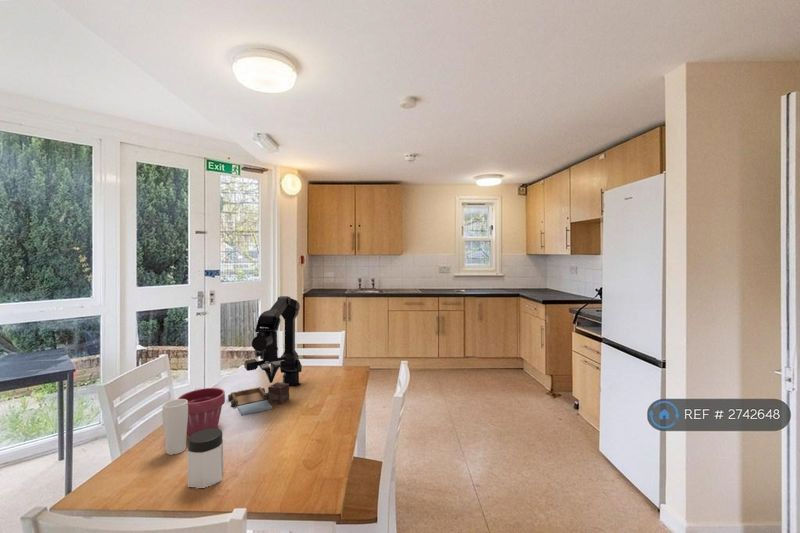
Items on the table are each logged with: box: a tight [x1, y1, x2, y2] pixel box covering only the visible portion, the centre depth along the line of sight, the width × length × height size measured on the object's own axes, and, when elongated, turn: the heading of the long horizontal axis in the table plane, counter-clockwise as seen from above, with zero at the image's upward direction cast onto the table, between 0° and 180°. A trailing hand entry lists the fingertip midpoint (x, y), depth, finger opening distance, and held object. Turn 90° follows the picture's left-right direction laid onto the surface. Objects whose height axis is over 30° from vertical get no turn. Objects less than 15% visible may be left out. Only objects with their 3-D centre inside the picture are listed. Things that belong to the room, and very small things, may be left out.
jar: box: [186, 428, 224, 489], centre depth 97 cm, size 9×8×12 cm
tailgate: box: [236, 400, 273, 416], centre depth 143 cm, size 11×9×1 cm
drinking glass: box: [161, 398, 188, 456], centre depth 112 cm, size 7×7×15 cm
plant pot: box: [177, 387, 226, 438], centre depth 125 cm, size 14×14×13 cm
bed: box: [227, 386, 269, 410], centre depth 152 cm, size 14×12×3 cm
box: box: [267, 381, 290, 406], centre depth 150 cm, size 6×6×7 cm
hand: (270, 382), depth 147 cm, fingers closed
